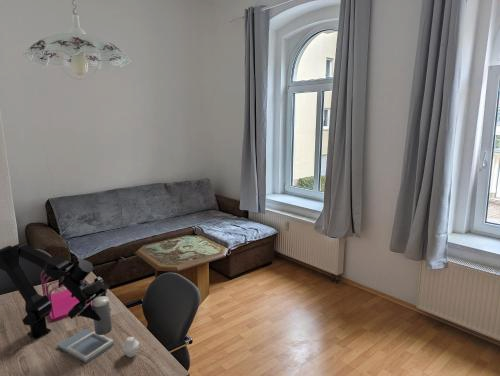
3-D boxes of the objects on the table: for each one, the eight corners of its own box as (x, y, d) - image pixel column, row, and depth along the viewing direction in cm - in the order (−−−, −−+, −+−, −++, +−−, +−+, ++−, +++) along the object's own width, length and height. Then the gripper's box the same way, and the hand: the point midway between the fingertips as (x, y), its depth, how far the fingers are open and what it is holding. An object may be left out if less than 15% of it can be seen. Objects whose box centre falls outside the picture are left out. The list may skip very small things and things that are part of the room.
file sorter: (79, 288, 183) (76, 260, 180) (93, 308, 164) (90, 277, 161) (41, 300, 172) (37, 270, 169) (51, 322, 153) (46, 289, 150)
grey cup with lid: (92, 330, 138) (89, 300, 135) (107, 324, 142) (104, 294, 140) (99, 337, 134) (96, 306, 132) (114, 329, 139) (111, 299, 136)
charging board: (57, 347, 136) (56, 342, 136) (85, 330, 146) (85, 326, 146) (86, 363, 127) (85, 358, 127) (114, 344, 137) (113, 340, 137)
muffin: (135, 346, 136) (134, 330, 134) (142, 354, 131) (141, 337, 130) (119, 354, 132) (118, 337, 130) (126, 362, 127) (125, 345, 126)
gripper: (71, 286, 125) (102, 317, 125) (103, 264, 143) (130, 291, 143) (55, 303, 129) (84, 334, 129) (88, 280, 146) (114, 307, 146)
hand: (105, 315), depth 137 cm, fingers closed on grey cup with lid, 6 cm apart
